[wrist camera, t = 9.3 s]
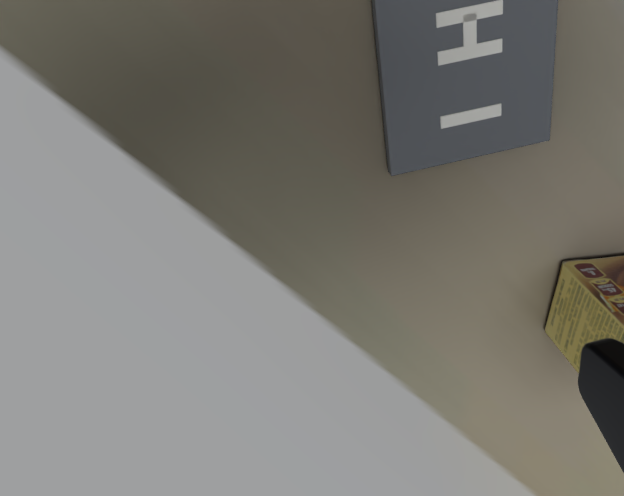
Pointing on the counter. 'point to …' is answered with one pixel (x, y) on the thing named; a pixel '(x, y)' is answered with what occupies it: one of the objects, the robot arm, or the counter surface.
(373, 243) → the counter surface
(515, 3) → the code tile
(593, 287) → the candy box
